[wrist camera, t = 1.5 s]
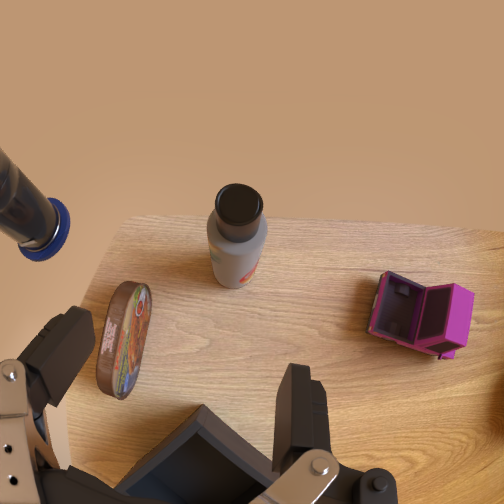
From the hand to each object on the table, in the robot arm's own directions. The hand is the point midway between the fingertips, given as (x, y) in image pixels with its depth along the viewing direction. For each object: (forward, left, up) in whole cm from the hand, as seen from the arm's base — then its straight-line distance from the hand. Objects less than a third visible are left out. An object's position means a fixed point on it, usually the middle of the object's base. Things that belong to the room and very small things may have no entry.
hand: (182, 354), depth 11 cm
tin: (-9, -7, -29) cm, 31 cm away
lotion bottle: (-6, +10, -29) cm, 32 cm away
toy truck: (+19, +23, -29) cm, 42 cm away
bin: (+11, -13, -29) cm, 34 cm away
